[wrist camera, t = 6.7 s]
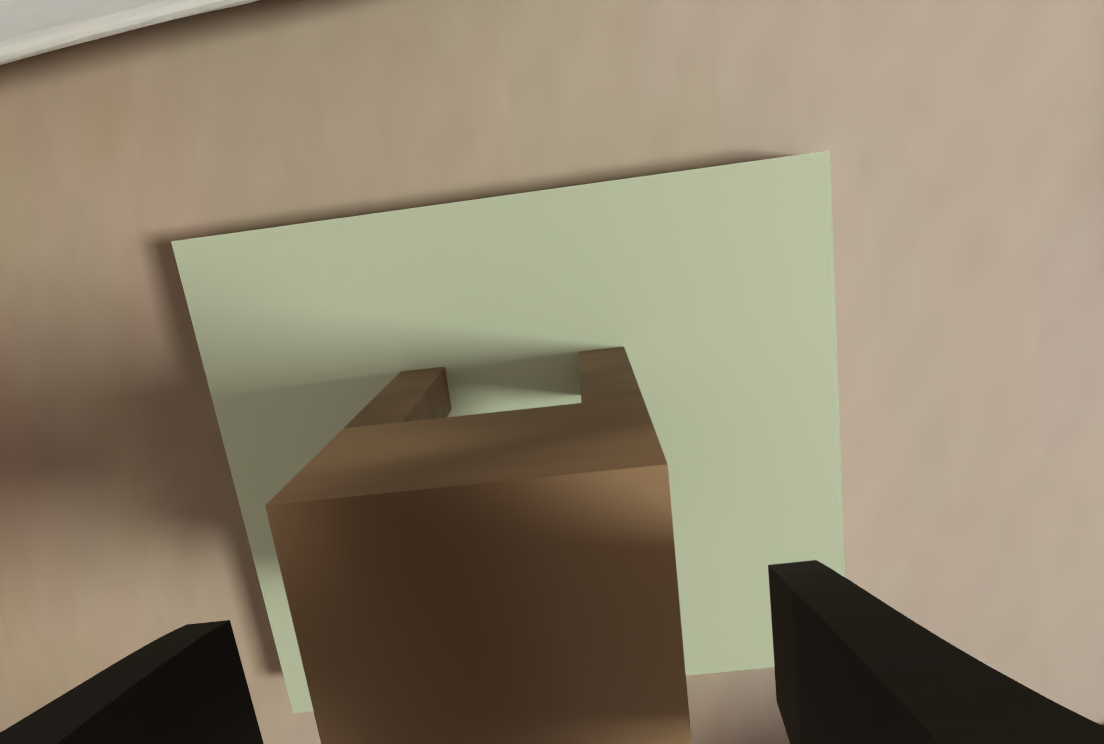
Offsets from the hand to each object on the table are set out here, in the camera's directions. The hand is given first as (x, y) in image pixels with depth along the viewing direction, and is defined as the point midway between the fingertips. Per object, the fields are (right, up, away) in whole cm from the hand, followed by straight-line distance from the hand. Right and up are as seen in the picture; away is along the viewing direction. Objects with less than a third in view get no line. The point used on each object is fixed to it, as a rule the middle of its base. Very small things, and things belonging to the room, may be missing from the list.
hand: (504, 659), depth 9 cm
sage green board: (0, +2, +8) cm, 8 cm away
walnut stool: (0, +2, +7) cm, 7 cm away
